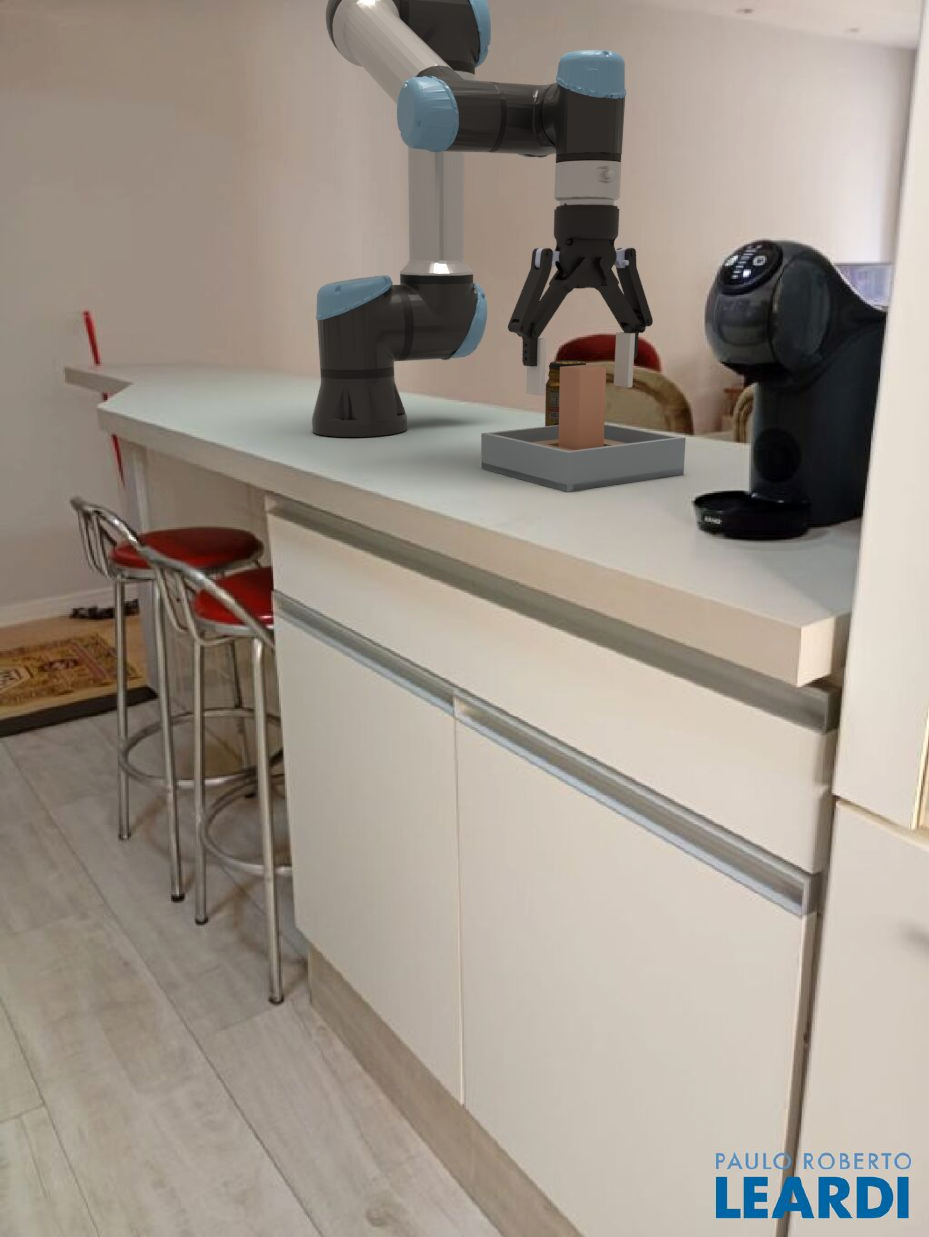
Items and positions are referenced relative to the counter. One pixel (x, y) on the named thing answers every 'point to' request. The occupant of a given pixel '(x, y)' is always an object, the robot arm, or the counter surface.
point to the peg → (582, 407)
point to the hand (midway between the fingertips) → (580, 390)
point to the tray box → (582, 457)
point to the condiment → (555, 390)
